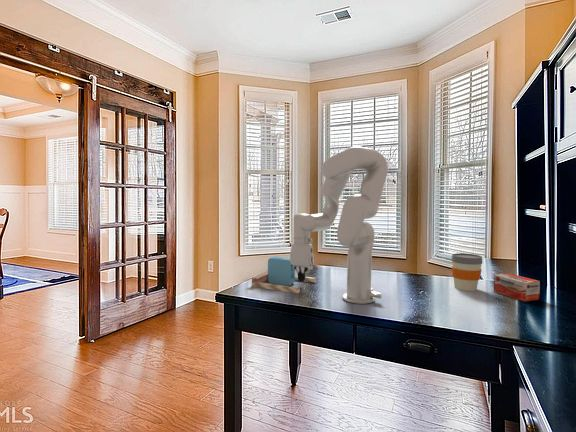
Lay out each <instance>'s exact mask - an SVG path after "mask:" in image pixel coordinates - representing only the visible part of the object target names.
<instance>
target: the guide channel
mask: <svg viewBox="0 0 576 432" xmlns="http://www.w3.org/2000/svg"><path fill="white" fill-rule="evenodd" d="M295 281H297V282H298V275H295ZM303 282H305V283H314V284H316V283H317V277H312V276H311V277H310V276H305V280H304V281H303ZM251 287H252V288H253V287H254V288H259V289H260V288H261V289H267V290H272V291H273V290H274V291H280V292H287V293H293V294H300V293H301V289H300V287H297V286H291V285H289V286H285V285H278V284H271V283H269V282H268V270H267V271H265V272H262V273H260V274H257V275H255V276H253V277H251Z"/></svg>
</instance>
